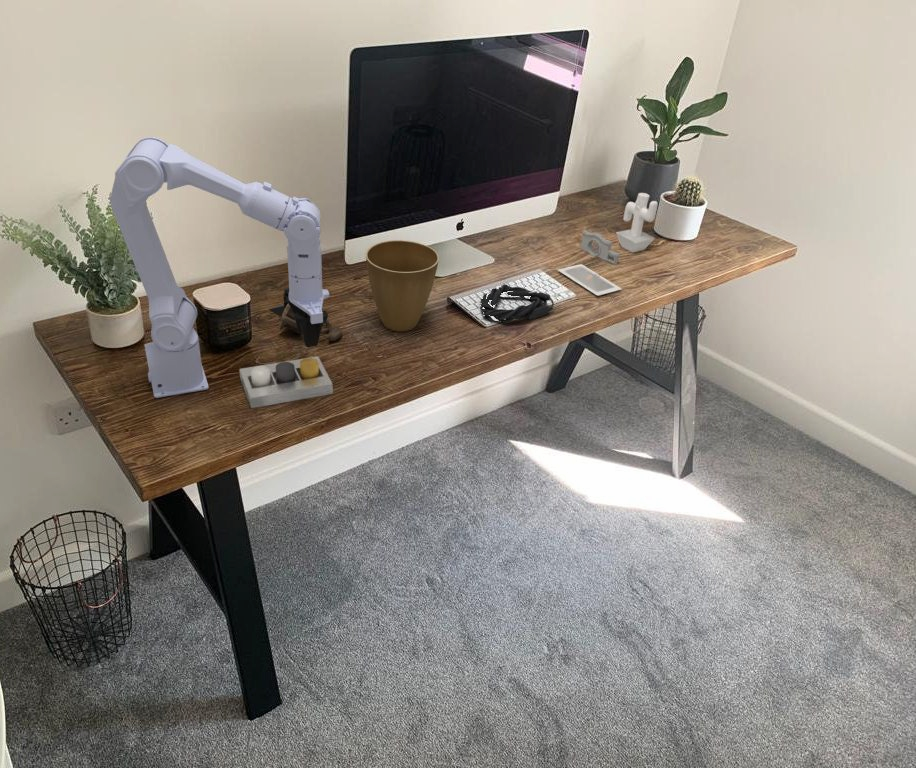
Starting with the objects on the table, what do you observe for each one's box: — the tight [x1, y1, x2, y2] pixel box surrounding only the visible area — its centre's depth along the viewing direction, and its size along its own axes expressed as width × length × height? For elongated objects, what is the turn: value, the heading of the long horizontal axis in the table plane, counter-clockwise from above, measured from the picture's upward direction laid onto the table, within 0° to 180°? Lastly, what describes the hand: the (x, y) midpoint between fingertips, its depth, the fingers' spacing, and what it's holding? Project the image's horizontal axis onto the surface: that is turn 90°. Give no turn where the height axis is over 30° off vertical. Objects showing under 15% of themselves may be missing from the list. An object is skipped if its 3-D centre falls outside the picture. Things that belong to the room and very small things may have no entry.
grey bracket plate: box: [580, 229, 621, 266], centre depth 207 cm, size 12×2×6 cm, turn 42°
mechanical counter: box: [278, 304, 343, 342], centre depth 165 cm, size 7×13×10 cm
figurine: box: [615, 192, 659, 253], centre depth 210 cm, size 7×9×15 cm
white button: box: [251, 365, 272, 389], centre depth 147 cm, size 3×3×3 cm
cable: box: [479, 283, 555, 323], centre depth 180 cm, size 17×14×4 cm
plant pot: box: [365, 239, 440, 332], centre depth 168 cm, size 15×15×16 cm
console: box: [239, 356, 334, 409], centre depth 150 cm, size 15×10×2 cm, turn 113°
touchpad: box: [557, 263, 622, 297], centre depth 195 cm, size 8×15×2 cm, turn 33°
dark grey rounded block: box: [276, 361, 296, 384], centre depth 149 cm, size 3×3×3 cm
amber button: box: [300, 357, 319, 380], centre depth 150 cm, size 3×3×3 cm
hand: (308, 339), depth 147 cm, fingers open, 4 cm apart
